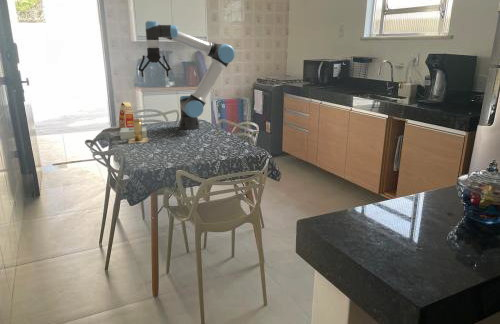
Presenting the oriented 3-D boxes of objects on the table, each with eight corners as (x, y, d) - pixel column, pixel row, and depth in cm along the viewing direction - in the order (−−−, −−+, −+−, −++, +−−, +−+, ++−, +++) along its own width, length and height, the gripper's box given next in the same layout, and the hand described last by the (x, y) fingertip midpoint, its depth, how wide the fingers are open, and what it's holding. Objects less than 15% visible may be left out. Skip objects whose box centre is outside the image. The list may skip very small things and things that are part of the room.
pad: (148, 138, 244) (148, 137, 244) (148, 142, 235) (148, 141, 235) (128, 139, 241) (128, 138, 241) (128, 143, 232) (128, 142, 232)
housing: (146, 134, 256) (146, 126, 255) (146, 138, 245) (146, 130, 243) (121, 135, 252) (121, 128, 251) (120, 139, 241) (120, 132, 240)
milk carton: (126, 130, 265) (123, 102, 259) (118, 128, 271) (115, 100, 264) (137, 128, 272) (134, 100, 266) (129, 126, 277) (126, 99, 271)
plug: (142, 139, 241) (141, 118, 237) (142, 140, 236) (141, 120, 233) (134, 139, 240) (133, 118, 236) (134, 141, 235) (132, 120, 232)
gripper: (172, 47, 246) (174, 80, 252) (132, 47, 240) (135, 81, 246) (173, 47, 239) (175, 81, 245) (132, 47, 233) (135, 82, 239)
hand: (155, 81), depth 246 cm, fingers open, 13 cm apart
